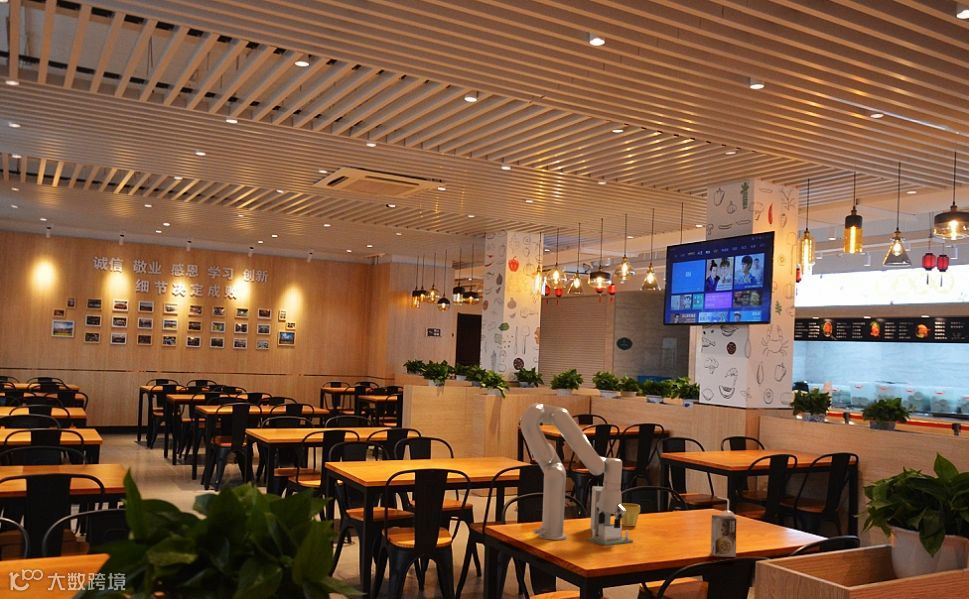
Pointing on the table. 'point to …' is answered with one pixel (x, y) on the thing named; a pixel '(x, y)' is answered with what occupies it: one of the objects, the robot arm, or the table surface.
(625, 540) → the pin tray
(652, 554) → the table surface
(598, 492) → the hard drive box
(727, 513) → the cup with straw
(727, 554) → the coffee box
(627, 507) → the plant pot
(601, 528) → the white open box
